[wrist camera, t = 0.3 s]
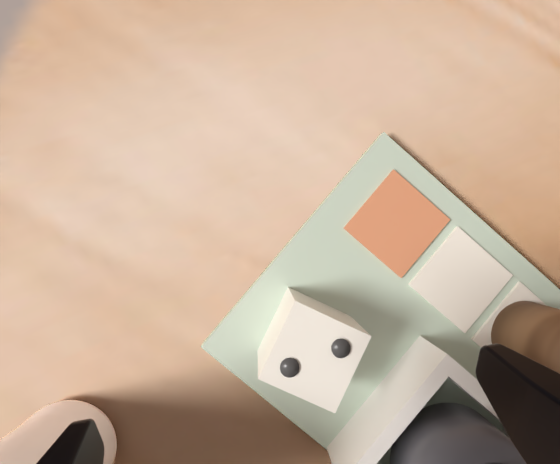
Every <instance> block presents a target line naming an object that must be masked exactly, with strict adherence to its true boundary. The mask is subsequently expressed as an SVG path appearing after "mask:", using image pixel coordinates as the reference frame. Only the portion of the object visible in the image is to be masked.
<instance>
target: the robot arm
mask: <svg viewBox="0 0 560 464" xmlns="http://www.w3.org/2000/svg"><path fill="white" fill-rule="evenodd" d="M475 371H476V377H477V380H478V382H479V384H480V386H481V387H482V389H483V391H484V393H485V395H486V397H487V398H488V400H489V402H490V404H491V406H492V407H493V409H494V411H495V413H496V415H497V416H498V418H499V420H500V422H501V424H502V426H503V427H504V429H505V431H506V433H507V434H508V436H509V438H510V439H511V441H512V443H513V444H514V446H515V447H516V449H517V450H518V452H519V453H520V455H521V456H522V458H523V459H524V461H525V462H526V464H560V373H558V372H556V371H554V370H552V369H550V368H548V367H546V366H544V365H542V364H540V363H538V362H536V361H534V360H532V359H530V358H528V357H526V356H524V355H522V354H520V353H518V352H516V351H514V350H512V349H510V348H508V347H506V346H504V345H502V344H498V343H495V344H489V345H484V346H482V347H481V349H480V352H479V356H478V361H477V365H476V370H475ZM103 461H104V443H103V440H102V438H101V435H100V433H99V430H98V428H97V425H96V423H95V421H94V420H93V419H84V420H78V421H74V422H72V423H71V424H69V425H68V427H67V428H66V429H65V430H64V431H63V432H62V434H61V435H60V436H59V437H58V438H57V440H56V441H55V442H54V443H53V444H52V445H51V447H50V448H49V449H48V450H47V451H46V453H45V454H44V455H43V456H42V457H41V458H40V460H39V461H38V462H37V463H36V464H103Z"/></svg>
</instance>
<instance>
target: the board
mask: <svg viewBox="0 0 560 464" xmlns="http://www.w3.org/2000/svg"><path fill="white" fill-rule="evenodd" d="M287 287H289V288H291V289H294V290H296V291H298V292H300V293H302V294H304V295H306V296H309V297H311V298H313V299H315V300H317V301H319V302H321V303H324V304H326V305H328V306H330V307H332V308H334V309H336V310H339V311H341V312H343V313H345V314H347V315H349V316H351V317H352V318H353V319H354V320H355V321H356V322H357V323H358V324H359V325H360V326H361V327H362V328H363V329H364V330H365V331H367V332H368V333H369V334H370V335H371V339H370V341H369V343H368V345H367V347H366V349H365V351H364V353H363V355H362V358H361V360H360V362H359V364H358V366H357V368H356V370H355V372H354V375H353V377H352V379H351V381H350V383H349V385H348V387H347V389H346V391H345V394H344V396H343V398H342V400H341V402H340V404H339V406H338V408H337V411H336V413H333V412H330V411H328V410H326V409H324V408H322V407H319V406H317V405H315V404H313V403H310V402H308V401H306V400H304V399H301V398H299V397H297V396H295V395H292V394H290V393H288V392H286V391H283V390H281V389H279V388H277V387H275V386H272V385H270V384H268V383H266V382H263V381H261V380H259V379H258V354H257V351H258V349H259V346H260V344H261V342H262V340H263V338H264V336H265V334H266V332H267V330H268V327H269V325H270V323H271V321H272V319H273V317H274V315H275V313H276V311H277V309H278V306H279V304H280V302H281V300H282V298H283V296H284V294H285V292H286V290H287ZM518 301H531V302H535V303H539V304H542V305H546V306H549V307H553V308H557V309H560V289H559V288H558V287H556V286H555V285H554V284H553V283H552V282H551V281H550V280H549V279H547V278H546V277H545V276H544V275H543V274H542V273H541V272H540V271H539V270H537V269H536V268H535V267H534V266H533V265H532V264H531V263H530V262H529V261H527V260H526V259H525V258H524V257H523V256H522V255H521V254H520V253H518V252H517V251H516V250H515V249H514V248H513V247H512V246H511V245H510V244H508V243H507V242H506V241H505V240H504V239H503V238H502V237H501V236H499V235H498V234H497V233H496V232H495V231H494V230H493V229H492V228H491V227H489V226H488V225H487V224H486V223H485V222H484V221H483V220H482V219H481V218H479V217H478V216H477V215H476V214H475V213H474V212H473V211H472V210H470V209H469V208H468V207H467V206H466V205H465V204H464V203H463V202H462V201H460V200H459V199H458V198H457V197H456V196H455V195H454V194H453V193H451V192H450V191H449V190H448V189H447V188H446V187H445V186H444V185H443V184H441V183H440V182H439V181H438V180H437V179H436V178H435V177H434V176H433V175H431V174H430V173H429V172H428V171H427V170H426V169H425V168H424V167H422V166H421V165H420V164H419V163H418V162H417V161H416V160H415V159H414V158H412V157H411V156H410V155H409V154H408V153H407V152H406V151H405V150H403V149H402V148H401V147H400V146H399V145H398V144H397V143H396V142H395V141H393V140H392V139H391V138H390V137H389V136H388V135H387V134H386V133H385V132H383V133H382V134H380V135H379V136H378V137H377V138H376V140H375V141H374V142H373V143H372V144H371V145H370V147H369V148H368V149H367V150H366V151H365V153H364V154H363V155H362V156H361V157H360V158H359V160H358V161H357V162H356V163H355V164H354V165H353V167H352V168H351V169H350V170H349V171H348V173H347V174H346V175H345V176H344V177H343V178H342V180H341V181H340V182H339V183H338V184H337V185H336V187H335V188H334V189H333V190H332V191H331V193H330V194H329V195H328V196H327V197H326V198H325V200H324V201H323V202H322V203H321V204H320V205H319V207H318V208H317V209H316V210H315V211H314V213H313V214H312V215H311V216H310V217H309V218H308V220H307V221H306V222H305V223H304V224H303V225H302V227H301V228H300V229H299V230H298V231H297V232H296V234H295V235H294V236H293V237H292V238H291V240H290V241H289V242H288V243H287V244H286V245H285V247H284V248H283V249H282V250H281V251H280V252H279V254H278V255H277V256H276V257H275V258H274V260H273V261H272V262H271V263H270V264H269V265H268V267H267V268H266V269H265V270H264V271H263V272H262V274H261V275H260V276H259V277H258V278H257V280H256V281H255V282H254V283H253V284H252V285H251V287H250V288H249V289H248V290H247V291H246V292H245V294H244V295H243V296H242V297H241V298H240V300H239V301H238V302H237V303H236V304H235V305H234V307H233V308H232V309H231V310H230V311H229V312H228V314H227V315H226V316H225V317H224V318H223V319H222V321H221V322H220V323H219V324H218V325H217V327H216V328H215V329H214V330H213V331H212V332H211V334H210V335H209V336H208V337H207V338H206V339H205V341H204V342H203V343H202V346H201V348H203V349H204V350H205V351H206V352H207V353H209V354H210V355H211V356H212V357H214V358H215V359H216V360H217V361H219V362H220V363H221V364H222V365H223V366H225V367H226V368H227V369H228V370H230V371H231V372H232V373H233V374H234V375H236V376H237V377H238V378H239V379H241V380H242V381H243V382H244V383H245V384H247V385H248V386H249V387H250V388H252V389H253V390H254V391H255V392H256V393H258V394H259V395H260V396H261V397H263V398H264V399H265V400H266V401H267V402H269V403H270V404H271V405H272V406H274V407H275V408H276V409H277V410H278V411H280V412H281V413H282V414H283V415H285V416H286V417H287V418H288V419H289V420H291V421H292V422H293V423H294V424H296V425H297V426H298V427H299V428H301V429H302V430H303V431H304V432H305V433H307V434H308V435H309V436H310V437H312V438H313V439H314V440H315V441H316V442H318V443H319V444H320V445H321V446H323V447H324V448H325V449H326V450H327V451H328V453H329V457H330V460H331V463H332V464H390V452H391V448H392V445H393V443H394V442H395V441H396V440H397V438H398V437H399V436H400V435H401V434H402V432H403V431H404V430H405V429H406V428H407V426H408V425H409V424H410V423H411V422H412V420H413V419H414V418H415V417H416V415H417V414H418V413H419V412H420V411H421V409H423V408H425V407H427V406H430V405H433V404H438V403H457V404H462V405H465V406H467V407H470V408H472V409H474V410H475V411H477V412H478V413H480V414H481V415H482V416H483V417H485V418H486V419H487V420H488V421H489V422H490V423H492V424H493V425H494V426H495V427H496V428H498V429H499V430H500V431H501V432H502V433H504V434H505V435H506V436H507V437H508V438H509V436H508V434H507V433H506V431H505V429H504V427H503V426H502V424H501V422H500V420H499V418H498V416H497V415H496V413H495V411H494V409H493V407H492V406H491V404H490V402H489V400H488V398H487V397H486V395H485V393H484V391H483V389H482V387H481V386H480V384H479V382H478V380H477V377H476V371H475V370H476V365H477V361H478V356H479V352H480V349H481V347H482V346H484V345H489V344H492V341H491V330H492V326H493V323H494V320H495V318H496V317H497V315H498V314H499V313H500V312H501V310H503V309H504V308H505V307H506V306H508V305H510V304H512V303H514V302H518ZM509 439H510V438H509Z"/></svg>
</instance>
